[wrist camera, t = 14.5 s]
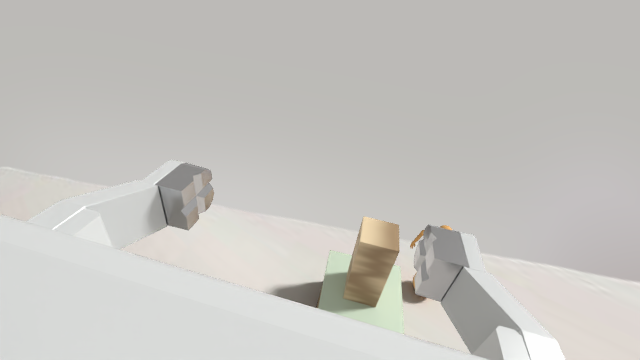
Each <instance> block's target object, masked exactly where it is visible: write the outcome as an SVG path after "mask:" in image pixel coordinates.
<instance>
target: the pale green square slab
mask: <svg viewBox="0 0 640 360" xmlns="http://www.w3.org/2000/svg"><path fill="white" fill-rule="evenodd" d="M351 258H352V255H349V254H344V253H340V252H336V251H331V250H330V253H329V257H328V262H327V267H326V271H325V276H324V281H323V286H322V291H321V296H320V301H319V306H318V309H321V310H324V311H328V312H331V313H335V314H338V315H341V316H345V317H348V318H351V319H355V320H358V321H361V322H365V323H368V324H372V325H375V326H378V327H382V328H385V329H388V330H392V331H395V332H398V333H402V334H404V321H403V304H402V286H401V269H400V266H396V265H393V267H392V270H391V272H390V275H389V277H388V279H387V282H386V284H385V286H384V289H383V291H382V293H381V296H380V298H379V300H378V303H377V305H376V307H372V306H369V305H365V304H361V303H358V302H354V301H350V300H347V299H343V295H344V289H345V283H346V277H347V272H348V268H349V265H350V261H351Z"/></svg>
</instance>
